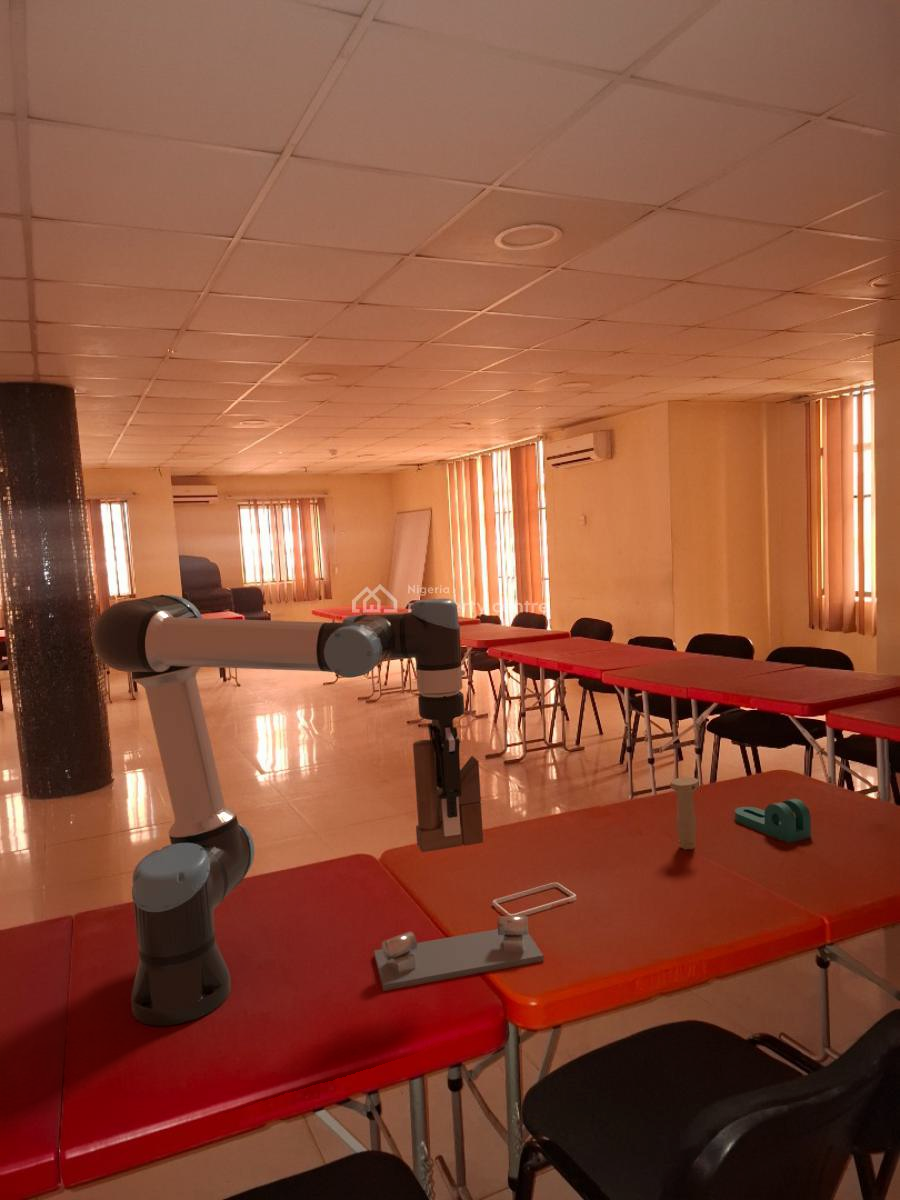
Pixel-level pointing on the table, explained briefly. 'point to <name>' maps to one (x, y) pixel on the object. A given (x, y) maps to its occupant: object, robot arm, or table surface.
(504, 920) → the grey knob
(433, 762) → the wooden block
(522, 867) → the table surface
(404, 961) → the grey block
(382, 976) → the plate
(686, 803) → the handle
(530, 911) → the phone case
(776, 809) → the bracket
